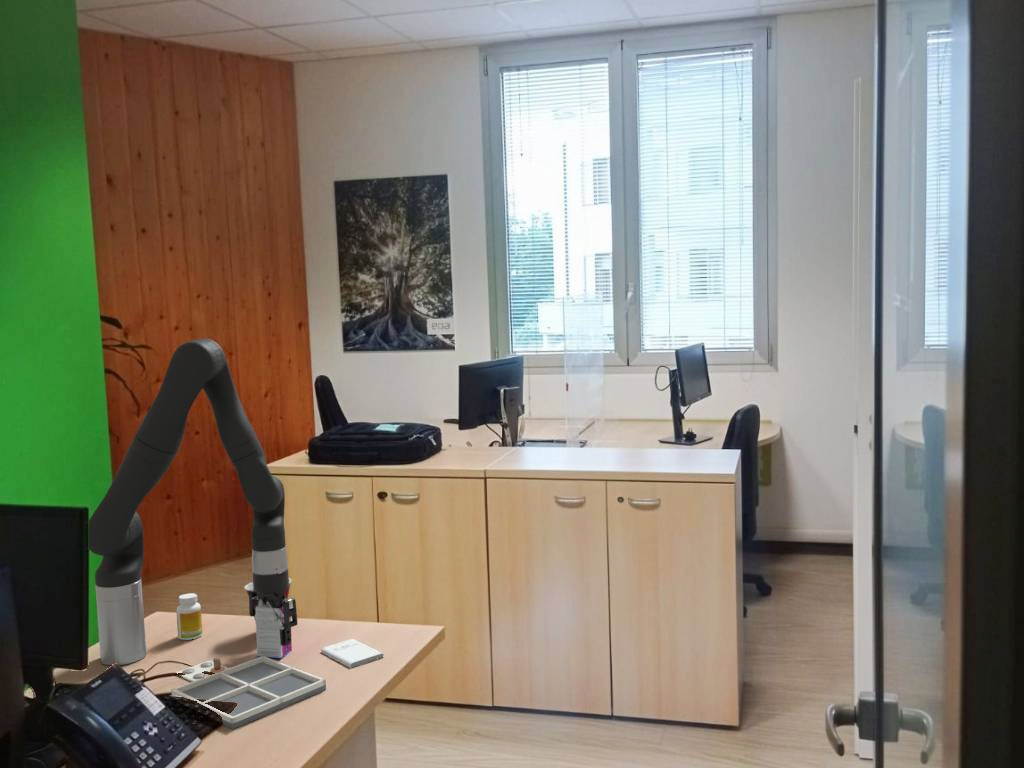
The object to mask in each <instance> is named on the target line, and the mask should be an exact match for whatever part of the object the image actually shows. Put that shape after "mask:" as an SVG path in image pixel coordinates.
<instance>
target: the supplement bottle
mask: <svg viewBox="0 0 1024 768" xmlns="http://www.w3.org/2000/svg"><path fill="white" fill-rule="evenodd" d="M178 604H179V605H178V606H177V607H176V611H175V612H176V624H177V638H178V639H179V640H181V641H191V640H192V639H193V640H196V639H199V638H200V637H203V636H202V635H203V622H202V606H201V604H200V602H198V595H197V593H186V594H185V593H184V594H180V595H179V596H178Z"/></svg>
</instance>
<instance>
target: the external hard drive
mask: <svg viewBox="0 0 1024 768" xmlns="http://www.w3.org/2000/svg"><path fill="white" fill-rule="evenodd" d="M320 652H321V653H322V654H324V655H325V656H327V657H329V658H330V659H333V660H335V661H337V662H339V663H341V664H342V665H344V666H346V667H348V668H349V669H352V668H355V666H356V667H358V665H359V666H361V664H362V665H364V664H363V663H365V664H368V663H370V662H369V661H371V662H373V661H372V660H374V661H376V660H375V659H377V658H380V657H383V656H385V655H384V653H383V652H381V651H379V650H376V649H374V648H372V647H370V646H369V645H366V644H364V643H361V642H359V641H358V640H356V639H353V638H351V639H347V640H343V641H341V642H338V643H334V644H331V645H330V644H329V645H327V646H324V647H322V648H321V649H320ZM383 658H384V657H383ZM380 659H381V658H380ZM377 660H378V659H377ZM367 662H368V663H367Z"/></svg>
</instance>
